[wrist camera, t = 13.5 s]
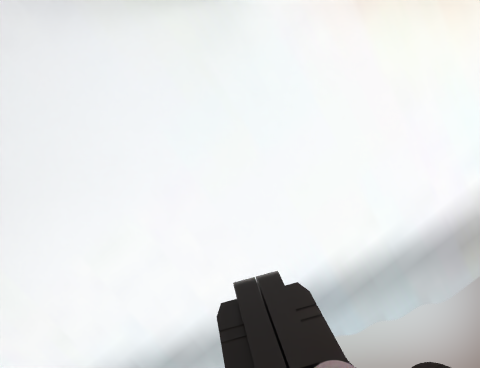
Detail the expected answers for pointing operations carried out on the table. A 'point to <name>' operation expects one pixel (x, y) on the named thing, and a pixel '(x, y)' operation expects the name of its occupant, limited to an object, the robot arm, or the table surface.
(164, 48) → the table surface
